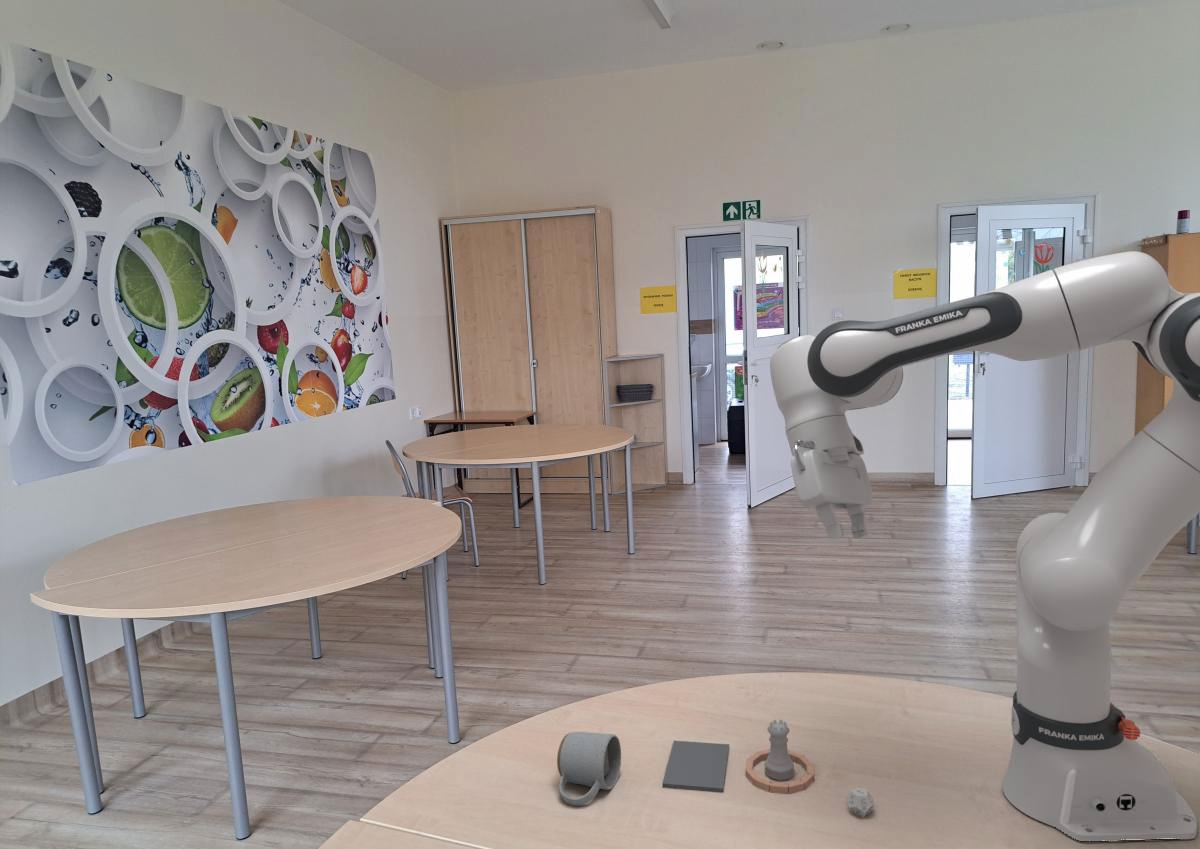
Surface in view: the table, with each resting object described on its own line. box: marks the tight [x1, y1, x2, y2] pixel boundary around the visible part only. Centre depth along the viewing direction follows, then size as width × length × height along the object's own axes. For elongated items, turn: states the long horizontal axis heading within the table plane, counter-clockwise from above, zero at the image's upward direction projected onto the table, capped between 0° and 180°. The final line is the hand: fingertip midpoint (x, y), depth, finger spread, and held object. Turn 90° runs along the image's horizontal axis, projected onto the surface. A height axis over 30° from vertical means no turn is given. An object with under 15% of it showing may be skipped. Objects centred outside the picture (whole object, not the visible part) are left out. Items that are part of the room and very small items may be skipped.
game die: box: [846, 786, 875, 818], centre depth 111 cm, size 4×4×3 cm
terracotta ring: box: [745, 748, 815, 794], centre depth 121 cm, size 10×10×1 cm
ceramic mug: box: [556, 731, 622, 807], centre depth 120 cm, size 11×8×8 cm
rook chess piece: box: [764, 719, 795, 782], centre depth 121 cm, size 4×4×8 cm
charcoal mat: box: [661, 740, 730, 793], centre depth 124 cm, size 9×12×1 cm
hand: (849, 537), depth 112 cm, fingers open, 8 cm apart
